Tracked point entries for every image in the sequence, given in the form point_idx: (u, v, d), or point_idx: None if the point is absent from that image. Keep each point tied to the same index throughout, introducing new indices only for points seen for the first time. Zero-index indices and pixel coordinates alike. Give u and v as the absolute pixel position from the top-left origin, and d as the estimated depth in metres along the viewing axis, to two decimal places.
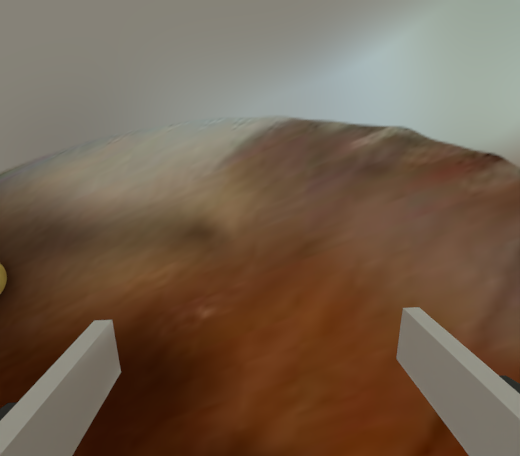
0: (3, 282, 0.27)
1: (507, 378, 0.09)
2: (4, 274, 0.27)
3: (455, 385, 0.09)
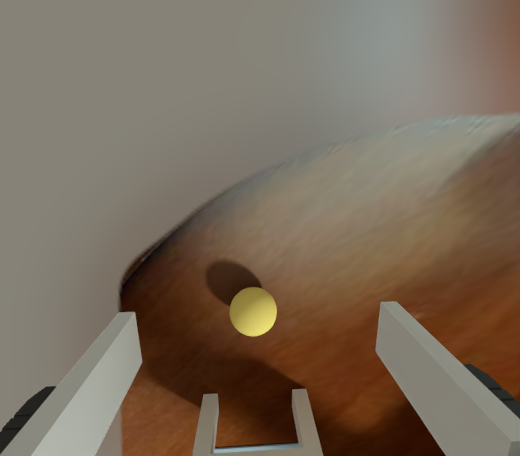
0: None
1: (472, 366, 0.10)
2: None
3: (423, 373, 0.10)
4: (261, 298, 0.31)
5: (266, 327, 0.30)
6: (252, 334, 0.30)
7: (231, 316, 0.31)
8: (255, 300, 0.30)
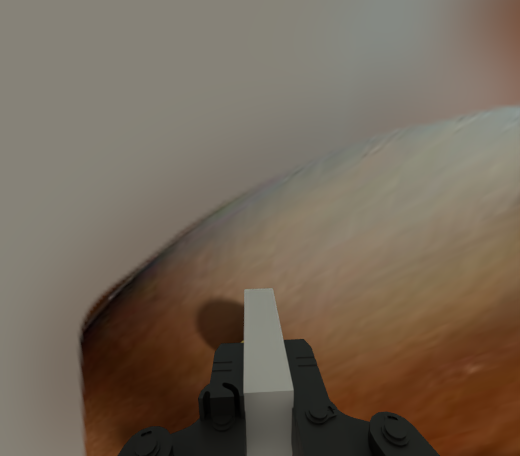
0: None
1: (304, 341, 0.11)
2: None
3: None
4: None
5: None
6: None
7: None
8: None
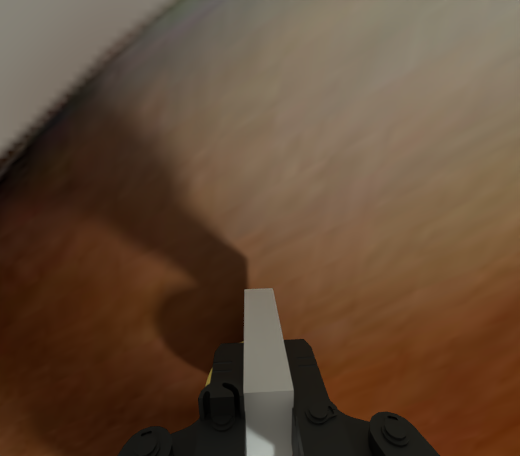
0: None
1: (304, 341, 0.11)
2: None
3: None
4: None
5: None
6: None
7: None
8: None
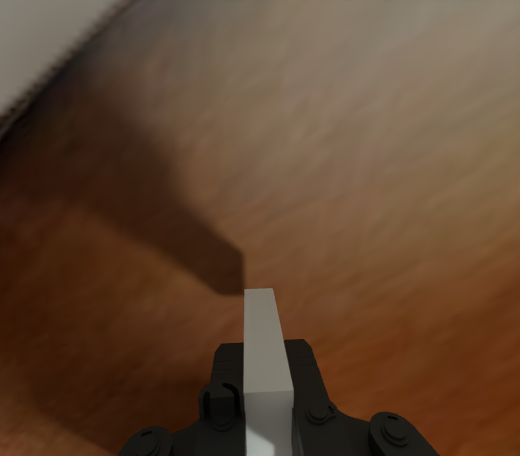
0: None
1: (304, 341, 0.11)
2: None
3: None
4: None
5: None
6: None
7: None
8: None
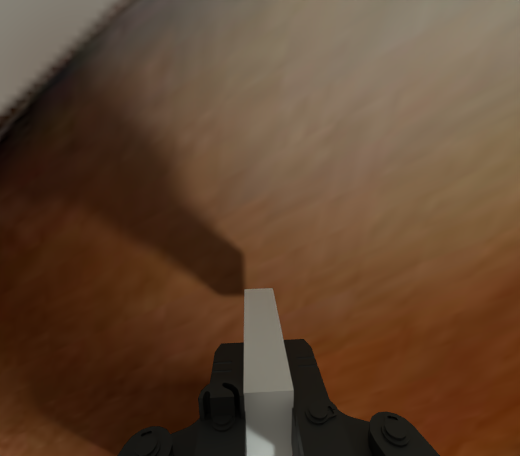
0: None
1: (304, 341, 0.11)
2: None
3: None
4: None
5: None
6: None
7: None
8: None
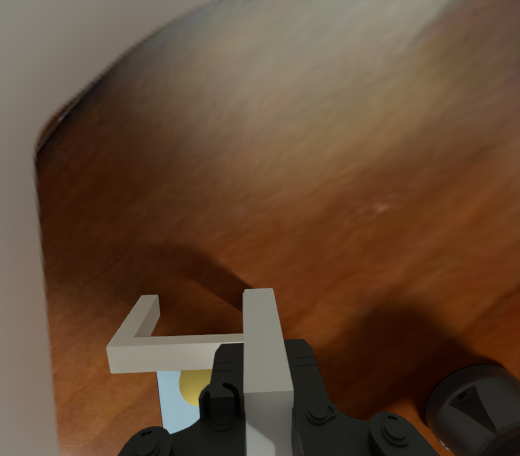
0: None
1: (304, 341, 0.11)
2: None
3: None
4: None
5: None
6: None
7: None
8: None
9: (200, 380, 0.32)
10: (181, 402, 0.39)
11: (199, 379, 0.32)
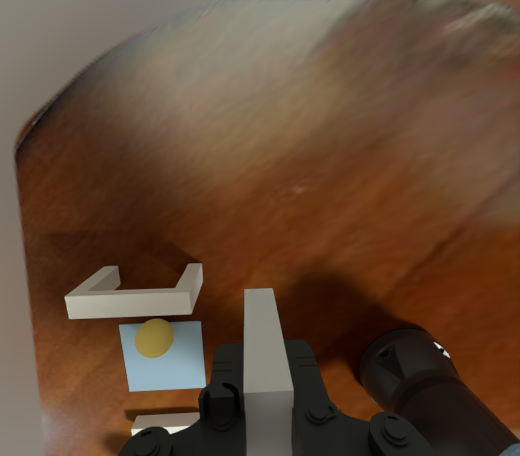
0: (170, 335, 0.41)
1: (304, 341, 0.11)
2: (169, 340, 0.40)
3: None
4: (161, 355, 0.41)
5: None
6: None
7: None
8: None
9: (150, 334, 0.39)
10: (142, 361, 0.45)
11: (149, 334, 0.39)
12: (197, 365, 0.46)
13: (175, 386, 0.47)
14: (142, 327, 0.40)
